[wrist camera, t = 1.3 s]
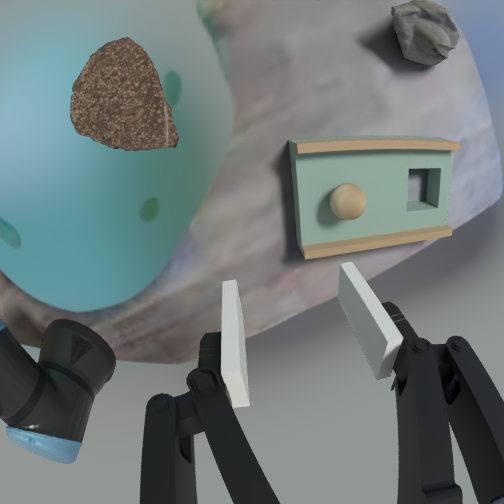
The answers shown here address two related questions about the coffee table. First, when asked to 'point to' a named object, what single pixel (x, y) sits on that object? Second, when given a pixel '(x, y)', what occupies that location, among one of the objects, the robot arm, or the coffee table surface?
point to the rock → (122, 100)
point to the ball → (347, 201)
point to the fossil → (424, 31)
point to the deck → (369, 191)
